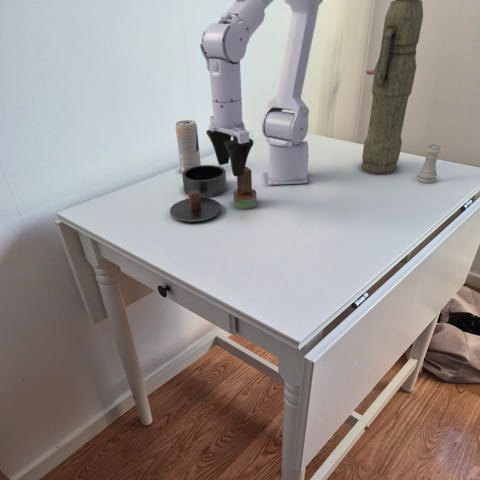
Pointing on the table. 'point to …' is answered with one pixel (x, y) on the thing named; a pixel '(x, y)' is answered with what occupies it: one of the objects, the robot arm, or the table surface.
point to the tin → (205, 180)
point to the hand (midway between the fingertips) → (231, 169)
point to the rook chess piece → (429, 165)
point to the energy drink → (188, 144)
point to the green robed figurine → (392, 86)
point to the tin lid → (195, 208)
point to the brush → (245, 191)
